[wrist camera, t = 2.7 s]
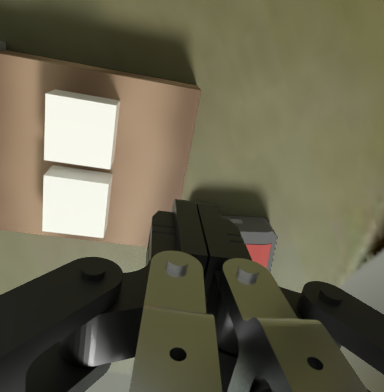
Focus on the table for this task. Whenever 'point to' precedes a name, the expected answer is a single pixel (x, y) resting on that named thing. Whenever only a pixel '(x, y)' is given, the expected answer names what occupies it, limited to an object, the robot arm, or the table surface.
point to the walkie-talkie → (256, 238)
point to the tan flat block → (124, 150)
